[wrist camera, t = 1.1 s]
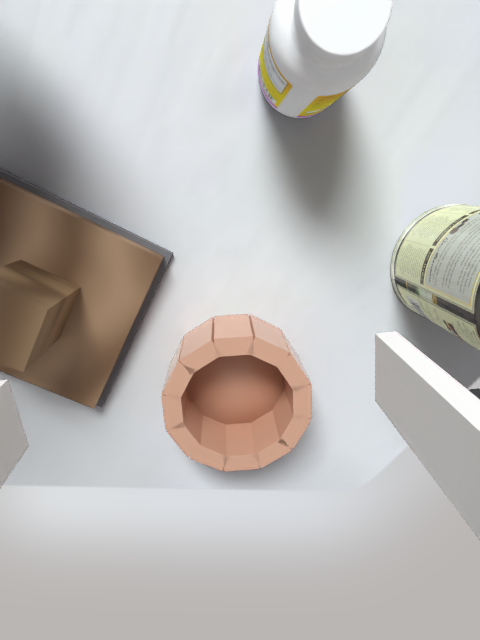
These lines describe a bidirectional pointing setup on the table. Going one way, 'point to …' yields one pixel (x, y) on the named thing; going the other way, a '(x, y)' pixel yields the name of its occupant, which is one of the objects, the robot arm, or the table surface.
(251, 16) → the table surface
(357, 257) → the table surface
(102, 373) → the walnut lid
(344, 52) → the supplement bottle
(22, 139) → the table surface
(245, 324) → the terracotta bowl
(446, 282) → the coffee can
